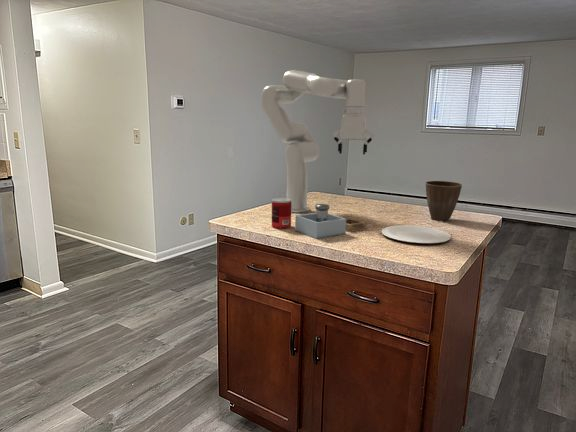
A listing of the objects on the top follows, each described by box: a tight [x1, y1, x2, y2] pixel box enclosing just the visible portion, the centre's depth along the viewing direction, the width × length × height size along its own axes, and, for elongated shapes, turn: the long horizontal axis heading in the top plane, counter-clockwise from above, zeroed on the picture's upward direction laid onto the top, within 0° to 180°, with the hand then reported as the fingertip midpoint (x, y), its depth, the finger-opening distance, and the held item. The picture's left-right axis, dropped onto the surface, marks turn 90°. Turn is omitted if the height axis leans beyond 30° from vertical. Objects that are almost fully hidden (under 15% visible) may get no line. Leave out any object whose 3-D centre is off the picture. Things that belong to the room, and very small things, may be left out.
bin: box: [294, 212, 347, 240], centre depth 169 cm, size 14×14×6 cm
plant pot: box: [425, 180, 463, 222], centre depth 193 cm, size 15×15×16 cm
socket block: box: [345, 217, 367, 232], centre depth 177 cm, size 9×9×2 cm
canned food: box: [271, 197, 292, 230], centre depth 176 cm, size 8×8×11 cm
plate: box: [381, 224, 452, 245], centre depth 166 cm, size 25×25×2 cm
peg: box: [314, 203, 330, 222], centre depth 168 cm, size 5×5×10 cm
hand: (352, 153), depth 183 cm, fingers open, 9 cm apart
